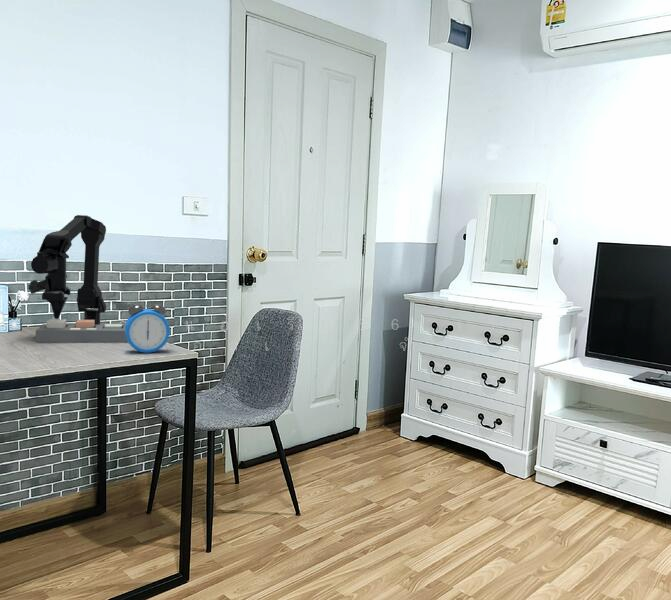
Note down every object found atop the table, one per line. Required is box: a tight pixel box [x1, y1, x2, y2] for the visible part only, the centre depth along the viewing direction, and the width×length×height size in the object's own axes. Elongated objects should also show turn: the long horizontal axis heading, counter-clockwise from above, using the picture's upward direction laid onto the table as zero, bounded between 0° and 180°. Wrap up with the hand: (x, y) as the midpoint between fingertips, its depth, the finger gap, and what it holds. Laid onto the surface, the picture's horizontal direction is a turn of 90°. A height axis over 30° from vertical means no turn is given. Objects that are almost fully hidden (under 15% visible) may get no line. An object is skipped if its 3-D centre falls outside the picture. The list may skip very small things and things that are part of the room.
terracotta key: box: [75, 319, 95, 328], centre depth 210 cm, size 5×5×4 cm
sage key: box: [104, 323, 123, 328], centre depth 213 cm, size 5×5×4 cm
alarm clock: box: [124, 303, 171, 354], centre depth 192 cm, size 13×6×15 cm, turn 112°
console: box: [35, 323, 128, 344], centre depth 209 cm, size 13×28×4 cm, turn 106°
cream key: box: [45, 318, 67, 328], centre depth 207 cm, size 5×5×4 cm
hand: (56, 318), depth 207 cm, fingers closed
